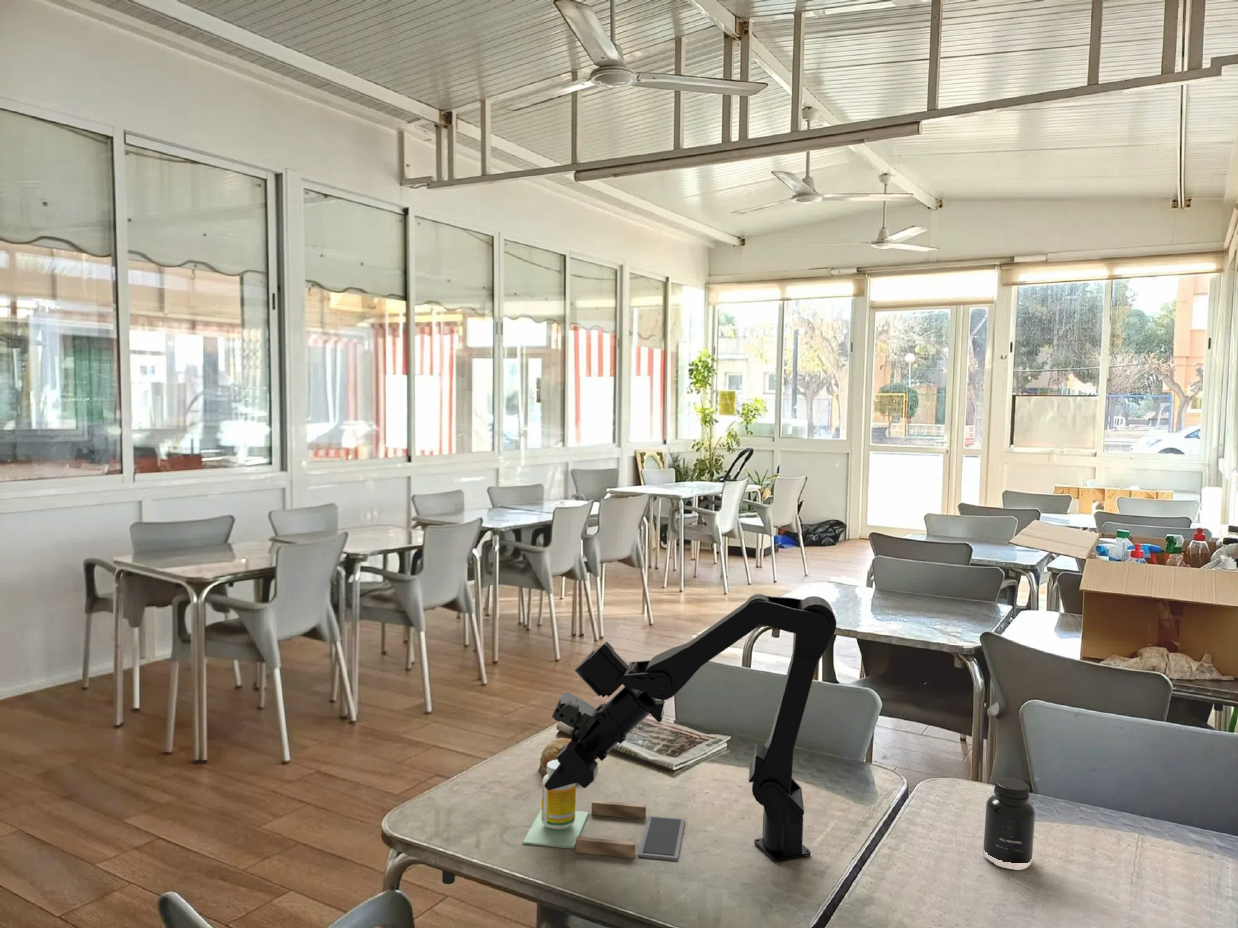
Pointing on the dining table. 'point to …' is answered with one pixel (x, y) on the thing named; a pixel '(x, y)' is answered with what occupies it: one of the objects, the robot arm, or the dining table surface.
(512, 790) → the dining table surface
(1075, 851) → the dining table surface
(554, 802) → the supplement bottle
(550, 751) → the bread roll
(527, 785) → the dining table surface
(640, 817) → the walnut channel
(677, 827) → the pit rectangle
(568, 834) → the pad
